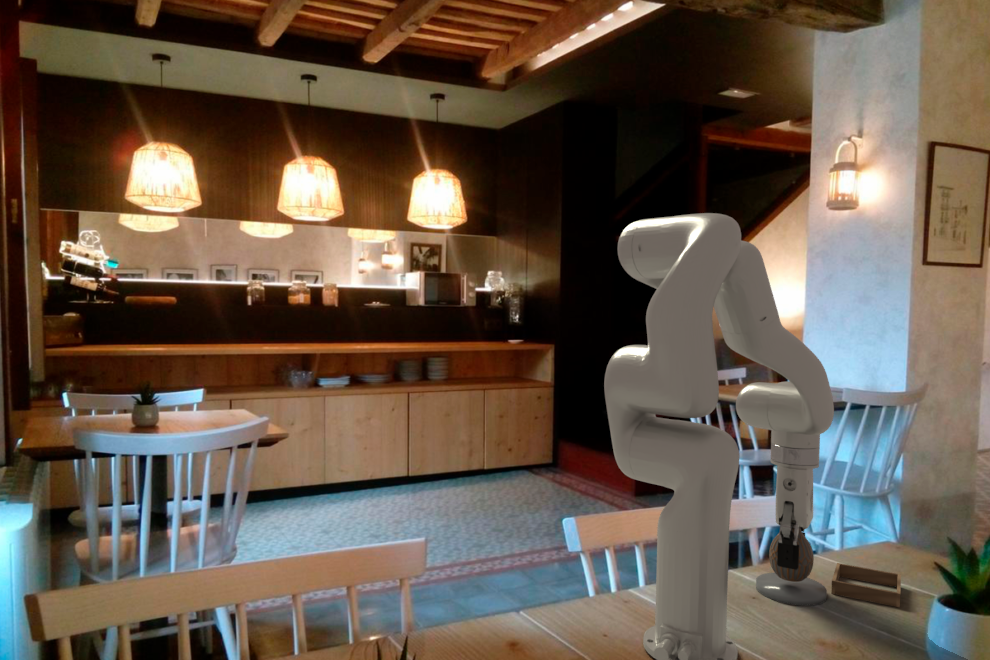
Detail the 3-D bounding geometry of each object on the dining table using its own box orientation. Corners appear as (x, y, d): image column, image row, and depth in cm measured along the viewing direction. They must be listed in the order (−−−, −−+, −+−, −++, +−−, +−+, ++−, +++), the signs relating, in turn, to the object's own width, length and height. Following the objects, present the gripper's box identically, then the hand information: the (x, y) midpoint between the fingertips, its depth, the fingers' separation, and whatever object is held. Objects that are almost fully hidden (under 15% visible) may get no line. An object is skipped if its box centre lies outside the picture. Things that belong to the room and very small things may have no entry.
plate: (822, 611, 111) (823, 603, 111) (750, 595, 117) (750, 588, 117) (829, 588, 121) (829, 581, 121) (762, 574, 126) (762, 568, 126)
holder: (899, 607, 113) (900, 594, 113) (831, 593, 118) (831, 580, 118) (900, 586, 122) (900, 574, 122) (836, 574, 127) (837, 562, 127)
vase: (817, 587, 114) (819, 534, 114) (772, 583, 116) (774, 530, 116) (807, 572, 121) (809, 521, 121) (765, 568, 123) (766, 518, 122)
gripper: (812, 468, 109) (808, 582, 109) (824, 450, 124) (821, 550, 124) (761, 461, 112) (758, 572, 113) (779, 445, 127) (775, 542, 128)
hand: (791, 559), depth 118 cm, fingers closed on vase, 6 cm apart
